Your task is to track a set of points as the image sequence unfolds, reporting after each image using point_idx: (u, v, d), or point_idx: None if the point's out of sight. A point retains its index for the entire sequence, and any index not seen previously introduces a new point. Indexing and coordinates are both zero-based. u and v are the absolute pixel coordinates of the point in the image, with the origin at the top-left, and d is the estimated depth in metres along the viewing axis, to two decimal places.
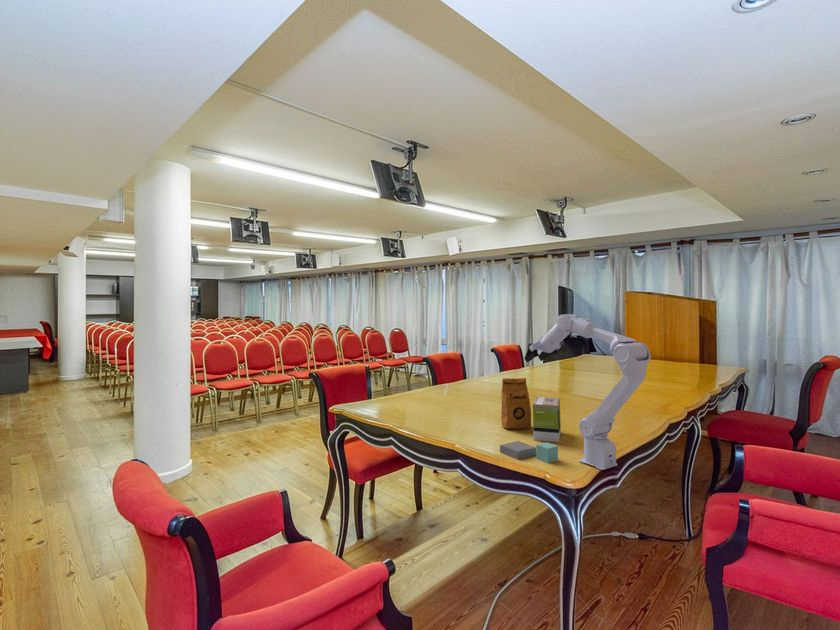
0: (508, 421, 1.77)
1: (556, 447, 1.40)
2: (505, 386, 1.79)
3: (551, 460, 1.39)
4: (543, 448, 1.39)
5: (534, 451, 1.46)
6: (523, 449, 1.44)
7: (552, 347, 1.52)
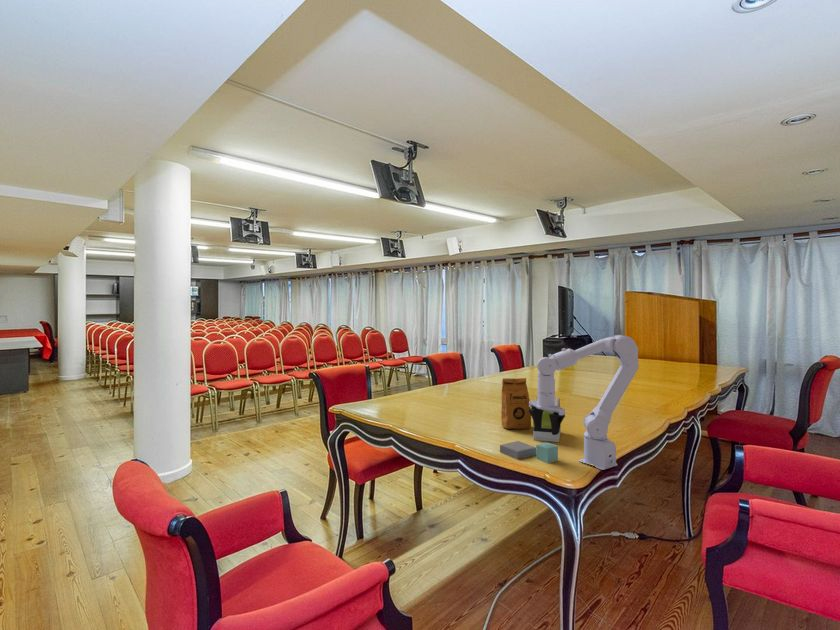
0: (508, 421, 1.77)
1: (556, 447, 1.40)
2: (505, 386, 1.79)
3: (551, 460, 1.39)
4: (543, 448, 1.39)
5: (534, 451, 1.46)
6: (523, 449, 1.44)
7: None
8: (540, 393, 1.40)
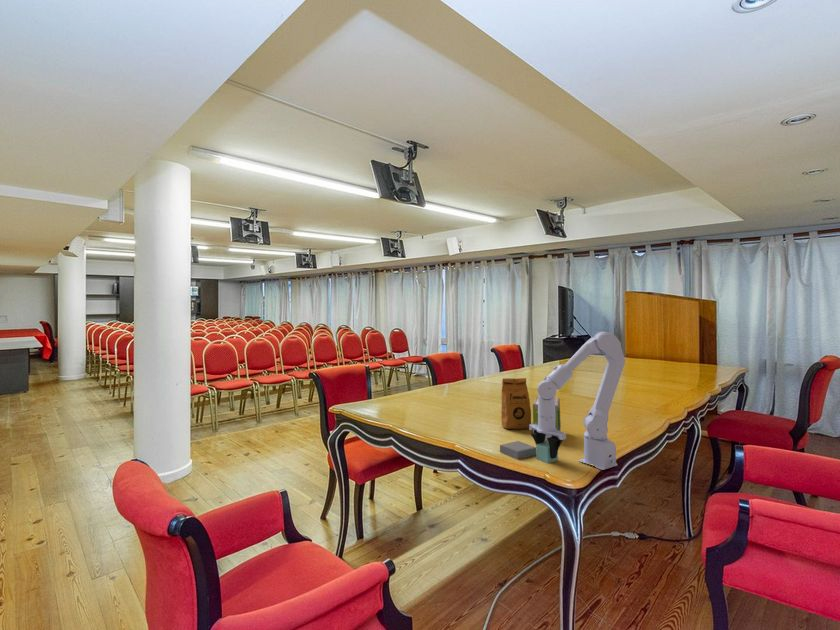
0: (508, 421, 1.77)
1: None
2: (505, 386, 1.79)
3: (551, 460, 1.39)
4: (543, 448, 1.39)
5: (534, 451, 1.46)
6: (523, 449, 1.44)
7: None
8: (540, 417, 1.40)
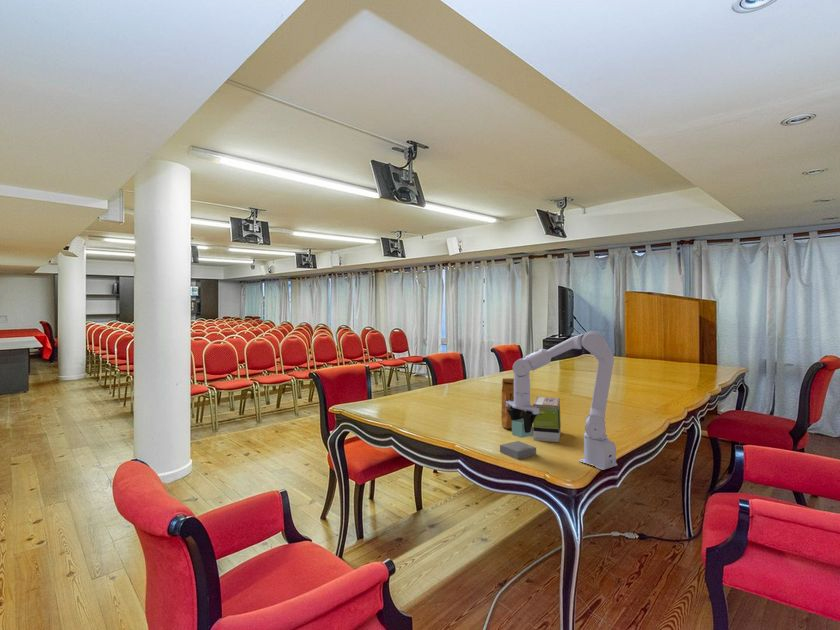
0: (508, 421, 1.77)
1: None
2: (505, 386, 1.79)
3: (525, 435, 1.44)
4: (518, 423, 1.45)
5: (534, 451, 1.46)
6: (523, 449, 1.44)
7: None
8: (516, 393, 1.45)
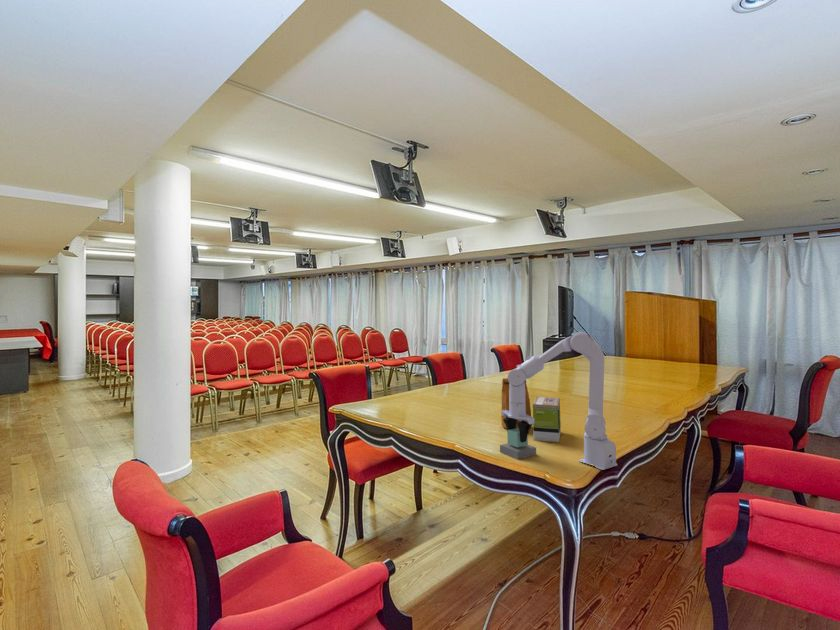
0: None
1: None
2: (505, 386, 1.79)
3: (521, 444, 1.45)
4: (513, 433, 1.46)
5: (534, 451, 1.46)
6: (523, 449, 1.44)
7: None
8: (511, 403, 1.46)
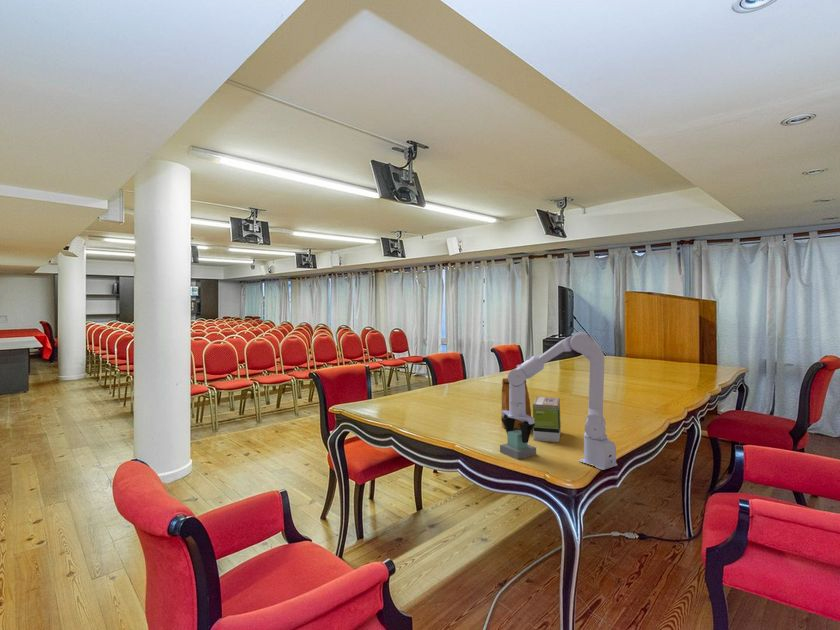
0: None
1: None
2: (505, 386, 1.79)
3: (521, 446, 1.45)
4: (513, 435, 1.46)
5: (534, 451, 1.46)
6: (523, 449, 1.44)
7: None
8: (511, 403, 1.46)
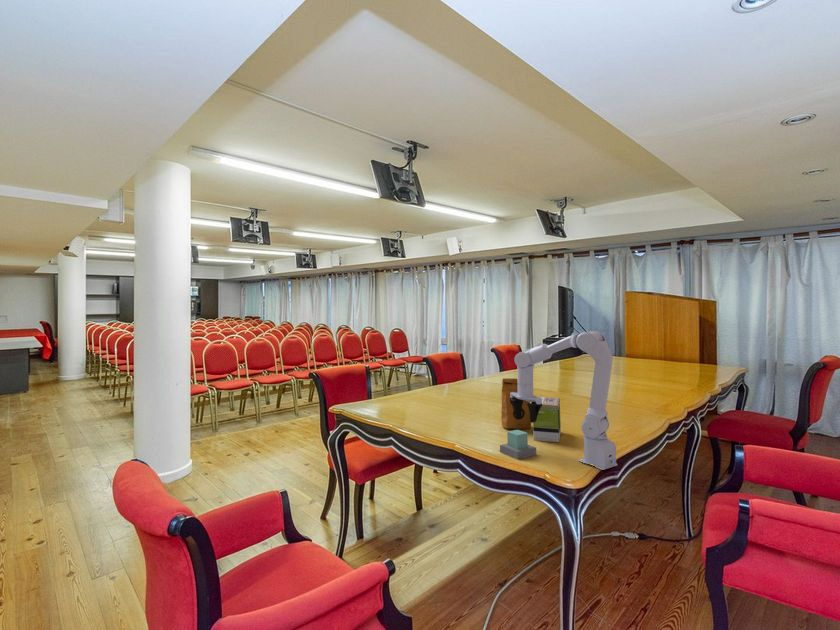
0: (508, 421, 1.77)
1: (526, 434, 1.46)
2: (505, 386, 1.79)
3: (521, 446, 1.45)
4: (513, 435, 1.46)
5: (534, 451, 1.46)
6: (523, 449, 1.44)
7: None
8: (519, 384, 1.52)
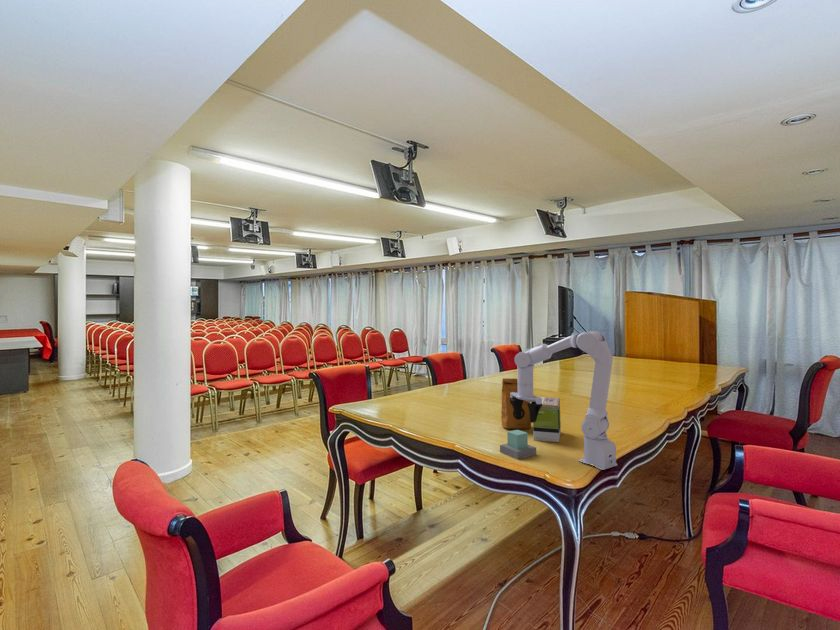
0: (508, 421, 1.77)
1: (526, 434, 1.46)
2: (505, 386, 1.79)
3: (521, 446, 1.45)
4: (513, 435, 1.46)
5: (534, 451, 1.46)
6: (523, 449, 1.44)
7: None
8: (519, 384, 1.52)
